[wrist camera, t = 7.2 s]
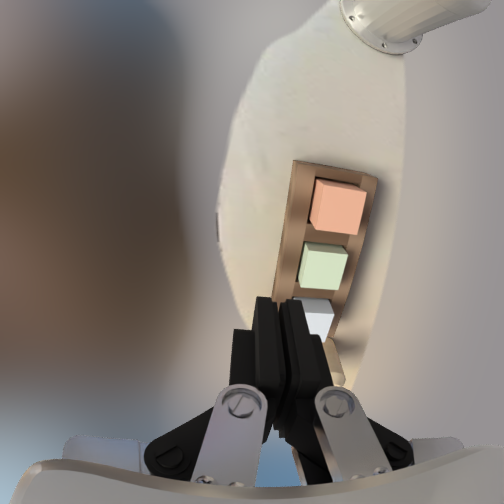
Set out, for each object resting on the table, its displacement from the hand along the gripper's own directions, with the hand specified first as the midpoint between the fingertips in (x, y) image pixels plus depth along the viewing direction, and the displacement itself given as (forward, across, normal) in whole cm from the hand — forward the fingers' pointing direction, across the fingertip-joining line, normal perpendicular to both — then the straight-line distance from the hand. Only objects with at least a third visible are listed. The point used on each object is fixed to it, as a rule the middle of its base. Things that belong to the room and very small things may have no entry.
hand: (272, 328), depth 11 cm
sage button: (+26, -9, +8) cm, 28 cm away
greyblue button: (+25, -9, +16) cm, 31 cm away
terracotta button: (+25, -9, 0) cm, 26 cm away
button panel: (+27, -9, +8) cm, 30 cm away
